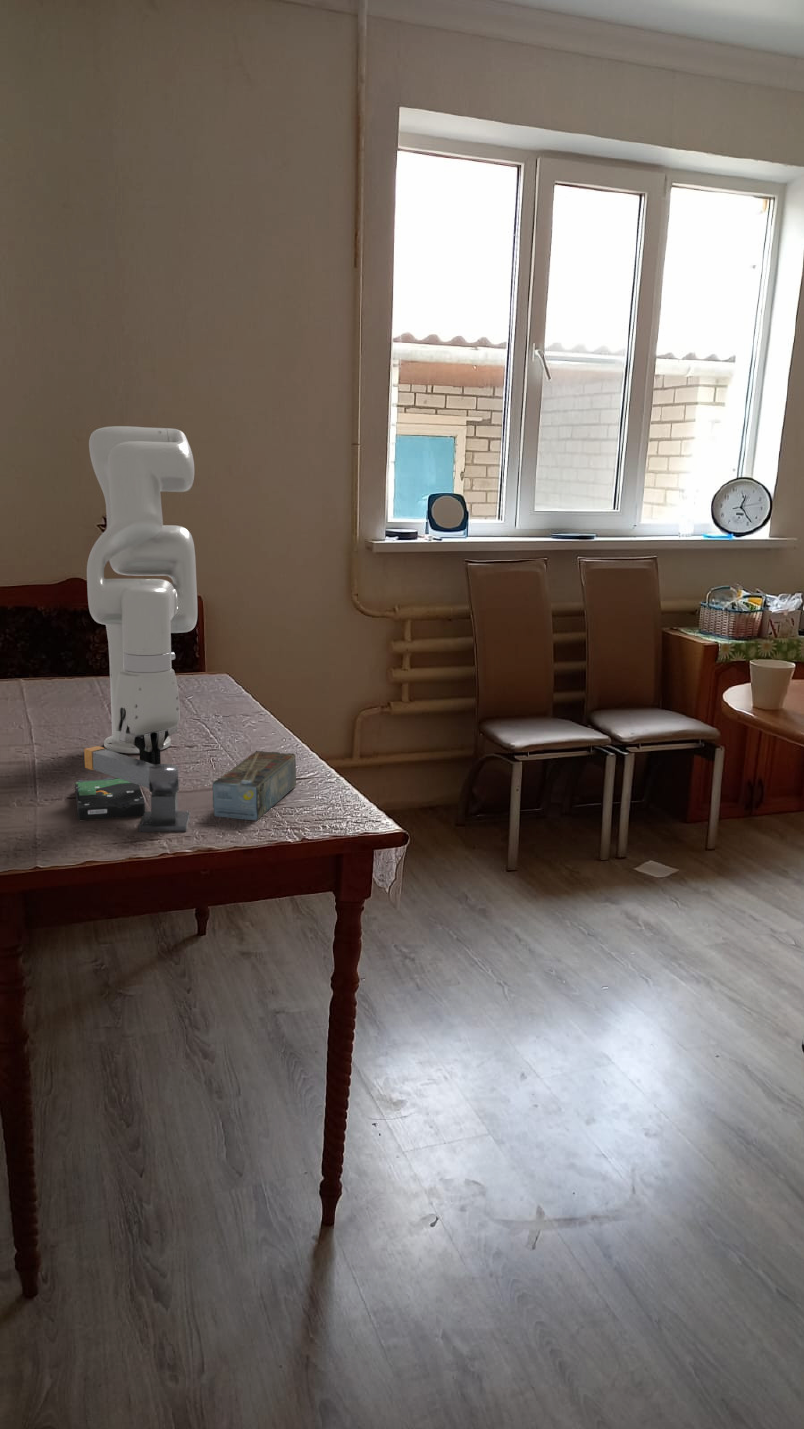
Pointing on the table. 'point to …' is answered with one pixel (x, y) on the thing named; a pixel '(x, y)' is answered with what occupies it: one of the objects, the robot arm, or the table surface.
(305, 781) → the table surface
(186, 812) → the grey pedestal base
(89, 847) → the table surface
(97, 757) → the swing bar
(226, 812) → the beverage carton
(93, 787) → the disk drive
